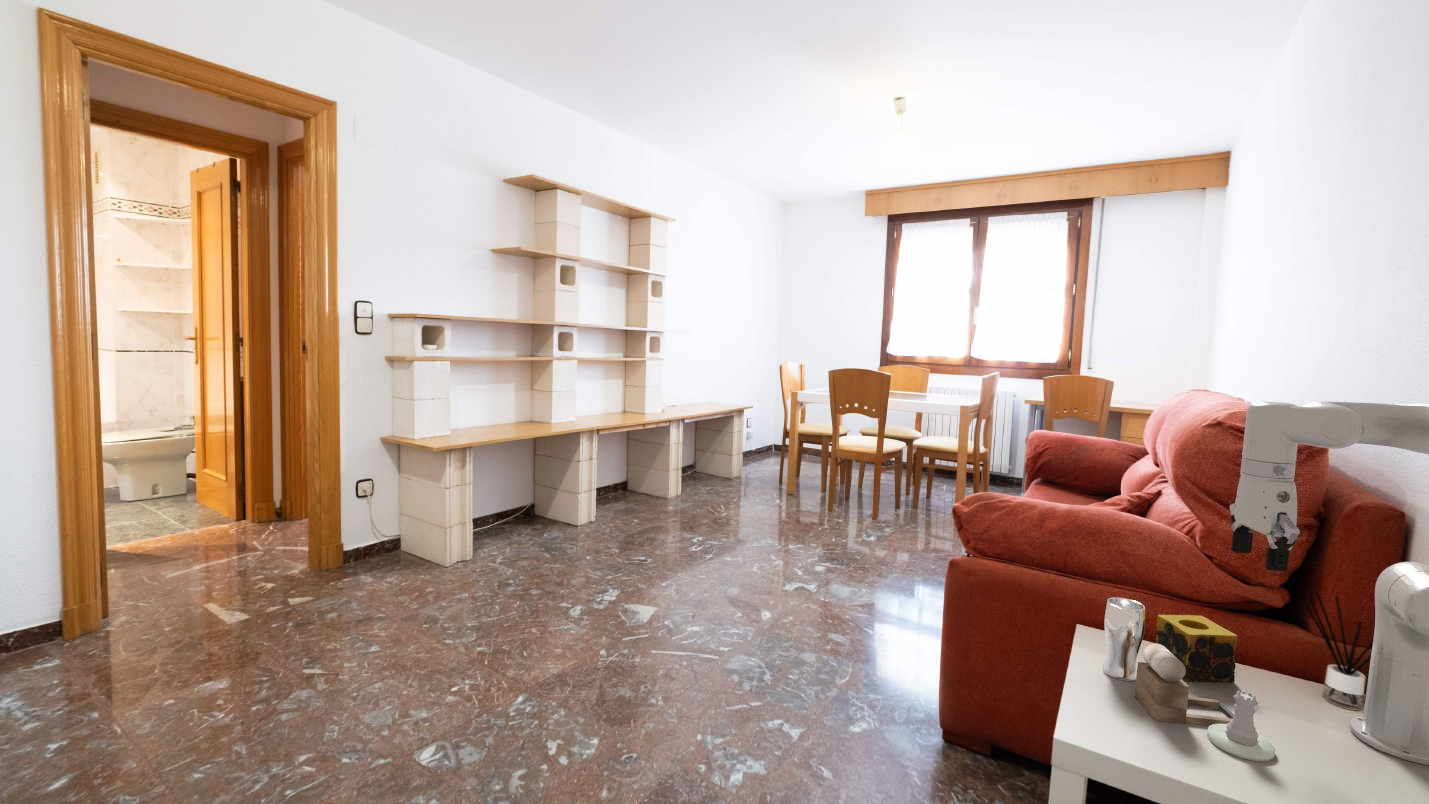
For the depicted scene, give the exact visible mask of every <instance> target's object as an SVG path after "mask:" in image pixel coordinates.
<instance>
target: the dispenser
mask: <svg viewBox="0 0 1429 804" xmlns="http://www.w3.org/2000/svg"><path fill="white" fill-rule="evenodd" d="M1142 656H1143V659H1144V662H1143V661H1142V662H1141V661H1137V665H1136V667H1137V677H1136V680H1135V688H1134V690H1135V692H1134V698H1135V699H1136V701H1138V702H1139V703H1140V705H1141V706H1142V707H1143V708H1144V709H1145V710H1146V712H1147V713H1148V714H1149V715H1150V717H1152V719H1153V720H1154V721H1157V722H1167V723H1176V724H1177V723H1178V724H1185V725H1186V724H1191V725H1192V724H1193V725H1202V726H1210V725H1213V724H1228V723H1230V720H1232V719H1233V717H1234V713H1233V712H1232V711H1231V710H1230V709H1229V708H1228V707H1226V706H1225V704H1223V702H1220V701H1219V700H1218V699H1216V698H1215V699H1213V698H1204V697H1194V696H1189V693H1190V686H1189V684H1188V683H1186V682H1185V680H1183V679H1182V678H1183V677H1184V675H1185V672H1186V669H1185V666H1184V664H1183V663H1182V662H1181V661H1180V660H1178V659H1177V658H1176V657H1175V656H1174V655H1173V654H1172V653H1171V652H1170V651H1169V650H1168V649H1166V648H1165V647H1164V646H1163V645H1161V644H1156V643H1151V644H1149V645H1147V646H1146V647H1145V648H1144V649H1143V652H1142ZM1188 706H1192V707H1201V708H1211V709H1219V710H1220V711H1221V712H1222V713H1223V714H1224V715H1225V716H1226V717H1219V716H1211V715H1210V716H1209V715H1201V714H1200V715H1199V714H1191V713H1187V712H1188Z"/></svg>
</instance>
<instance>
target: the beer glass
mask: <svg viewBox="0 0 1429 804" xmlns="http://www.w3.org/2000/svg"><path fill="white" fill-rule="evenodd" d="M1106 601H1107V602H1106V607H1105V612H1104V613H1105V614H1104V621H1103V622H1104V623H1103V626H1104V637H1105V639H1104V640H1105V648H1106V656H1105V660H1104V663H1103V665H1102V666H1103V667H1102V671H1103V673H1105V674H1106V675H1107V676H1108V677H1110V678H1113V679H1115V680H1119V681H1122V682H1134V681H1135V682H1136V677H1137V662H1138V661H1137V660H1138V656H1139V651H1140V649H1141V646H1142V643H1143V639H1144V636H1145V629H1146V607H1145V605H1144V604H1143V603H1141V602H1139V601H1137V600H1133V599H1131V598H1127V597H1117V596H1116V597H1114V596H1113V597H1109V598H1107V600H1106Z"/></svg>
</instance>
